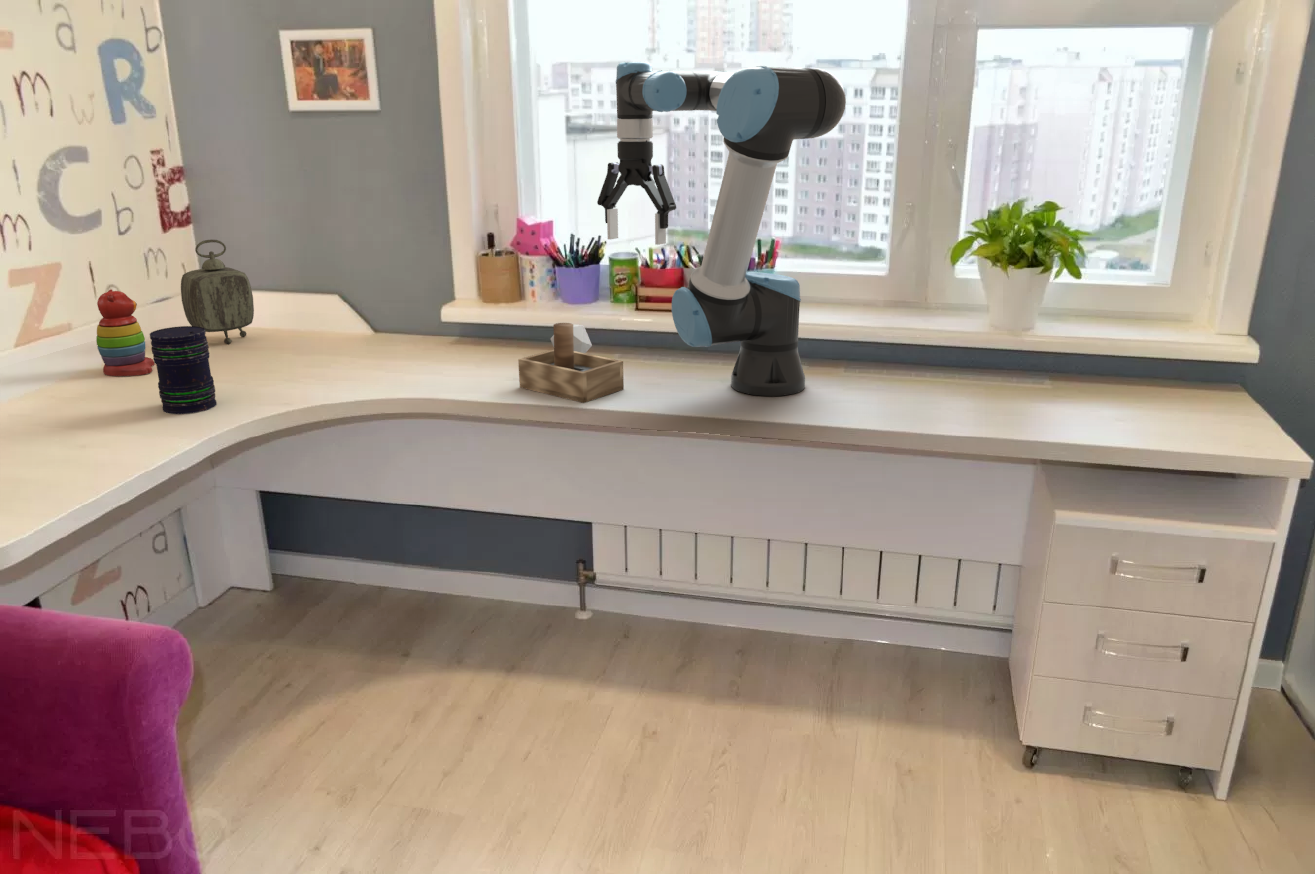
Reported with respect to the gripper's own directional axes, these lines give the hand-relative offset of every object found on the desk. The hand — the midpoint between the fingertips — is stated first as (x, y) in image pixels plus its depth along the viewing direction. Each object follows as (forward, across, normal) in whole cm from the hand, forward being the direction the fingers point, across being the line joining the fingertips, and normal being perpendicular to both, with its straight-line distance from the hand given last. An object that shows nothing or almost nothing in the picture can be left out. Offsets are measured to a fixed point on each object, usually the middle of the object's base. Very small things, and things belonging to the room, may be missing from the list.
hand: (636, 241), depth 218 cm
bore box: (+27, -4, +26) cm, 37 cm away
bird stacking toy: (+27, +83, +76) cm, 116 cm away
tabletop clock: (+27, +91, +49) cm, 107 cm away
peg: (+26, -2, +26) cm, 37 cm away
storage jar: (+27, +46, +81) cm, 97 cm away
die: (+27, +13, +8) cm, 31 cm away
